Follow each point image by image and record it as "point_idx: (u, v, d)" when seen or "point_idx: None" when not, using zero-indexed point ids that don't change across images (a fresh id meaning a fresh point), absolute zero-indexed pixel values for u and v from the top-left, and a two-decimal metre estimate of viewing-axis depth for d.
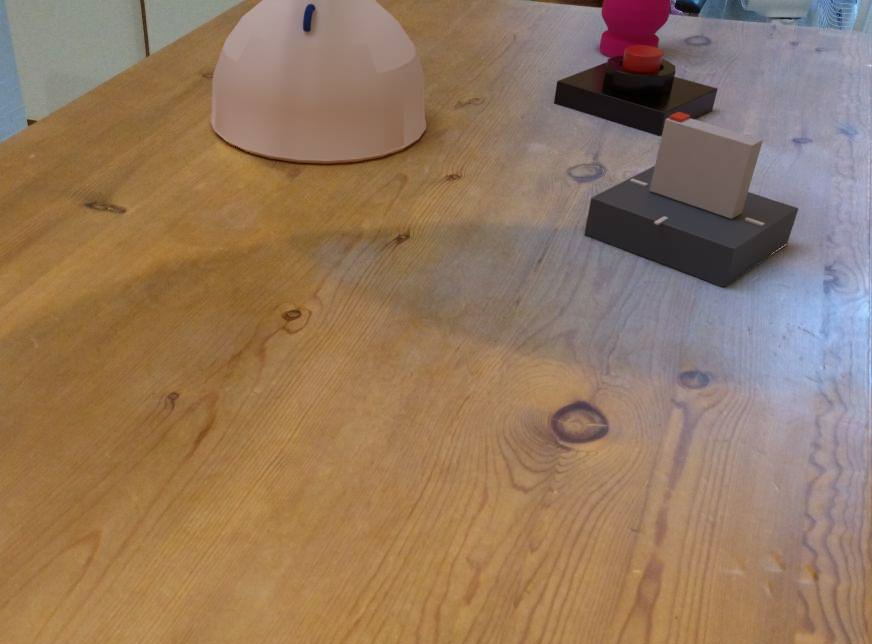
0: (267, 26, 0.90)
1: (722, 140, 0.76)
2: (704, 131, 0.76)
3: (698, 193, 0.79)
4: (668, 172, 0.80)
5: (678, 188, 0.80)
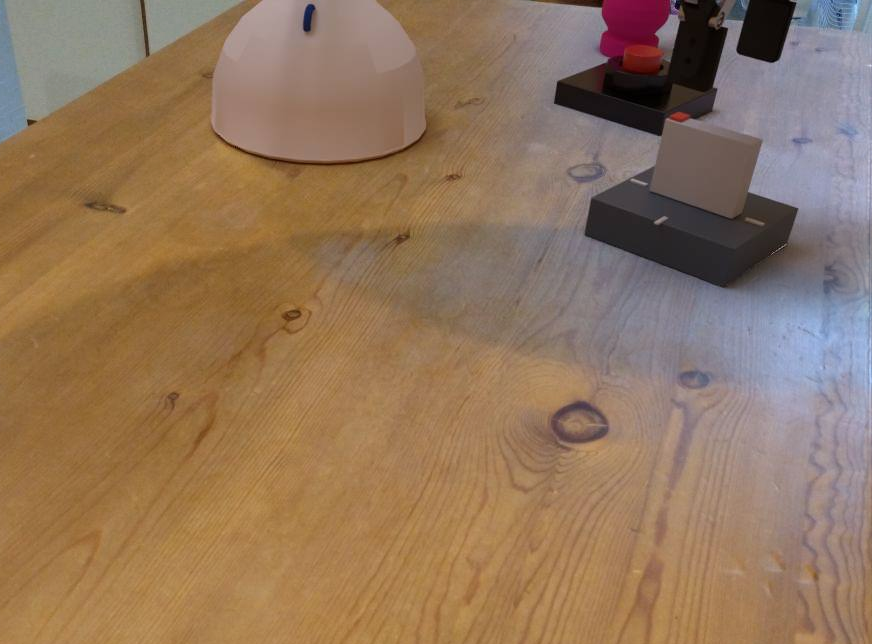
0: (267, 26, 0.90)
1: (722, 140, 0.76)
2: (704, 131, 0.76)
3: (698, 193, 0.79)
4: (668, 172, 0.80)
5: (678, 188, 0.80)
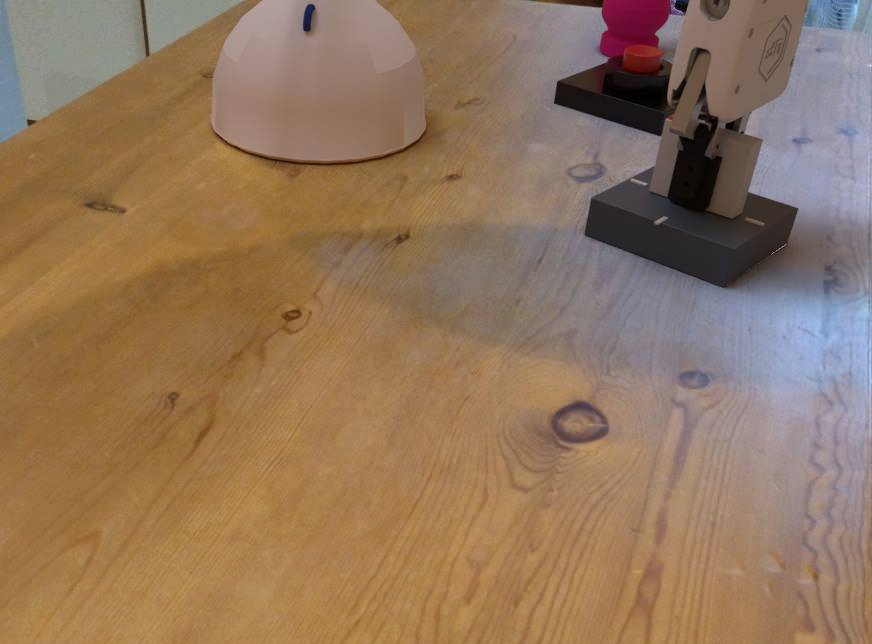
0: (267, 26, 0.90)
1: (722, 140, 0.76)
2: None
3: None
4: (668, 172, 0.80)
5: None
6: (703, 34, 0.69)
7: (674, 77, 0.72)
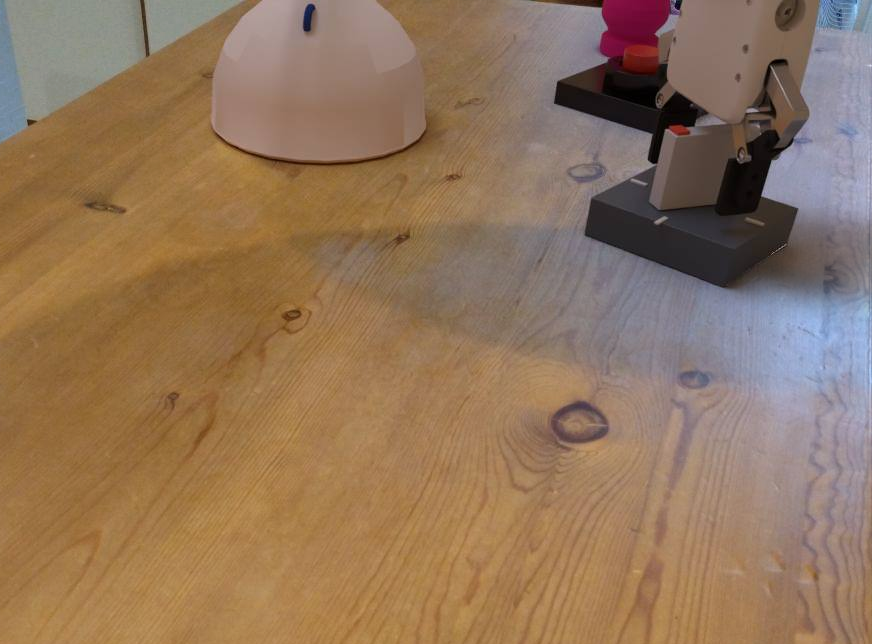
0: (267, 26, 0.90)
1: None
2: (715, 134, 0.76)
3: (709, 191, 0.79)
4: (679, 185, 0.78)
5: (689, 195, 0.79)
6: (780, 45, 0.68)
7: (749, 95, 0.70)
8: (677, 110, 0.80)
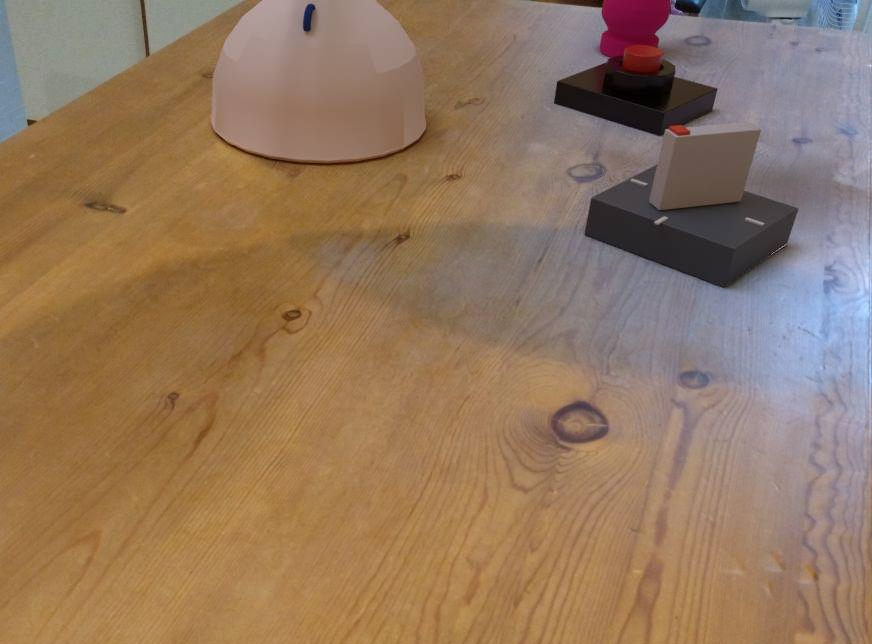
0: (267, 26, 0.90)
1: (733, 135, 0.77)
2: (715, 134, 0.76)
3: (709, 191, 0.79)
4: (679, 185, 0.78)
5: (689, 195, 0.79)
6: None
7: None
8: None
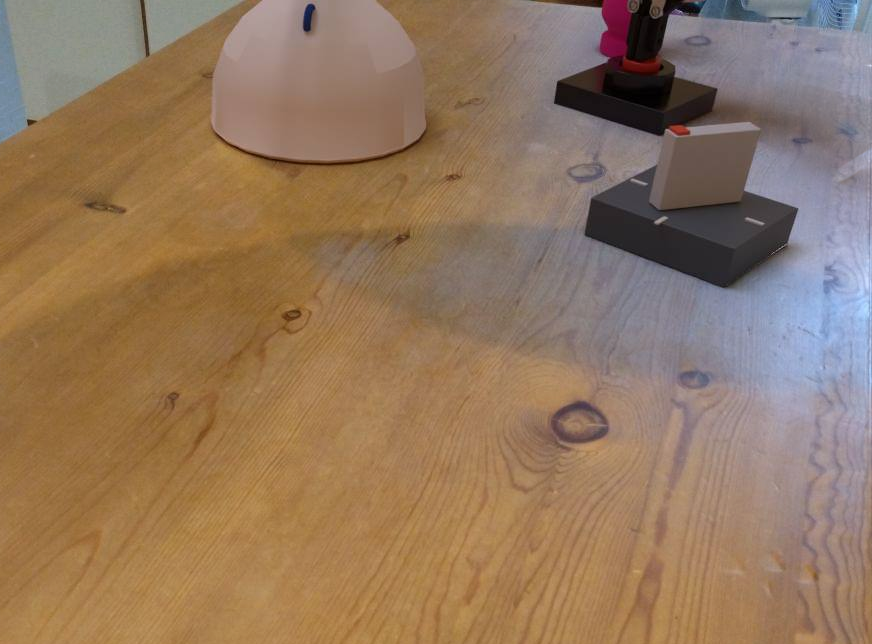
0: (267, 26, 0.90)
1: (733, 135, 0.77)
2: (715, 134, 0.76)
3: (709, 191, 0.79)
4: (679, 185, 0.78)
5: (689, 195, 0.79)
6: None
7: None
8: (646, 12, 0.99)
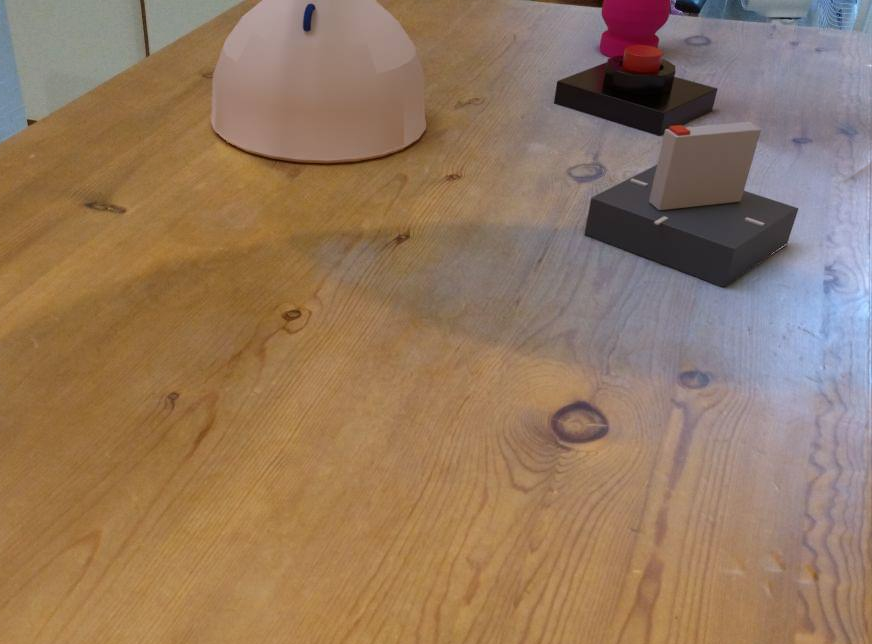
0: (267, 26, 0.90)
1: (733, 135, 0.77)
2: (715, 134, 0.76)
3: (709, 191, 0.79)
4: (679, 185, 0.78)
5: (689, 195, 0.79)
6: None
7: None
8: None
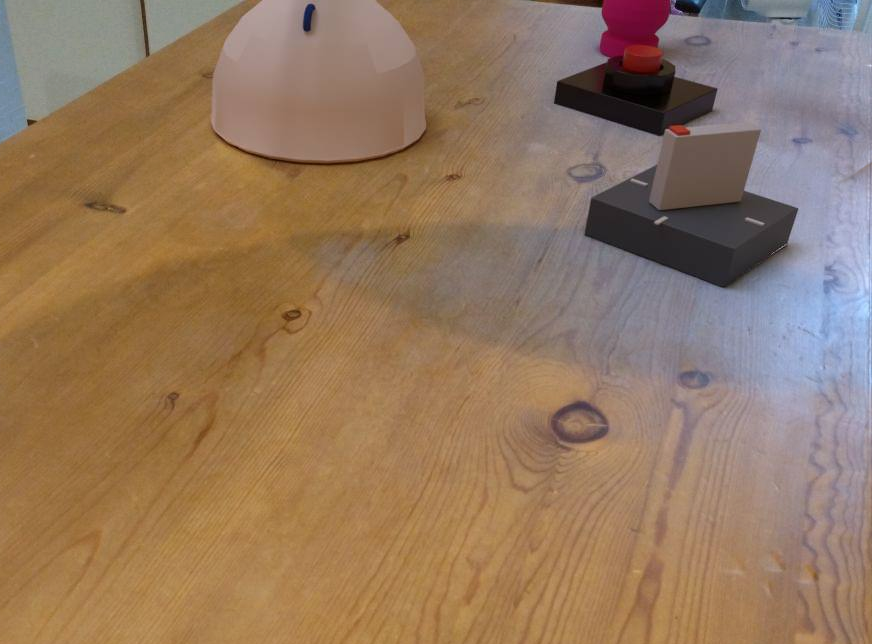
0: (267, 26, 0.90)
1: (733, 135, 0.77)
2: (715, 134, 0.76)
3: (709, 191, 0.79)
4: (679, 185, 0.78)
5: (689, 195, 0.79)
6: None
7: None
8: None
